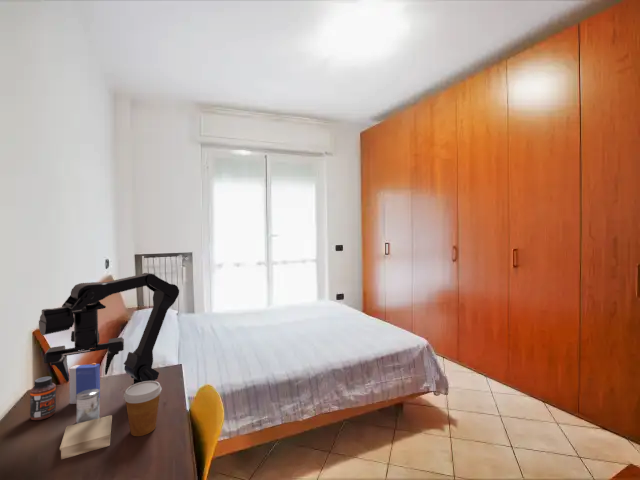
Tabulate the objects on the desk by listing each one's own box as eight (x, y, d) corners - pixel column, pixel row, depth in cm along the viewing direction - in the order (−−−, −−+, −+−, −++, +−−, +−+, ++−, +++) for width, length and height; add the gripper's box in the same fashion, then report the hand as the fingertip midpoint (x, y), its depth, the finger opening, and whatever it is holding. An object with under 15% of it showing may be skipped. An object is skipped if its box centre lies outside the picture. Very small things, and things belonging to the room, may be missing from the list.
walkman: (100, 397, 108) (99, 362, 108) (95, 402, 105) (95, 366, 105) (74, 399, 107) (73, 364, 107) (69, 404, 104) (68, 367, 104)
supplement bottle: (40, 422, 94) (40, 384, 94) (24, 420, 95) (24, 382, 95) (61, 411, 100) (60, 375, 100) (45, 409, 101) (45, 374, 101)
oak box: (112, 425, 93) (112, 415, 92) (110, 445, 84) (110, 434, 84) (66, 437, 87) (66, 426, 87) (60, 460, 78) (59, 448, 78)
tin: (100, 412, 99) (100, 387, 99) (99, 422, 94) (98, 395, 94) (77, 418, 96) (77, 391, 96) (75, 428, 91) (74, 400, 91)
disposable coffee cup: (115, 435, 88) (115, 392, 88) (145, 417, 97) (145, 377, 97) (140, 443, 84) (140, 399, 84) (169, 423, 93) (169, 383, 93)
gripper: (123, 315, 106) (124, 361, 107) (51, 324, 97) (52, 374, 97) (123, 323, 97) (124, 374, 97) (42, 334, 87) (44, 390, 88)
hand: (87, 377), depth 95 cm, fingers open, 9 cm apart
